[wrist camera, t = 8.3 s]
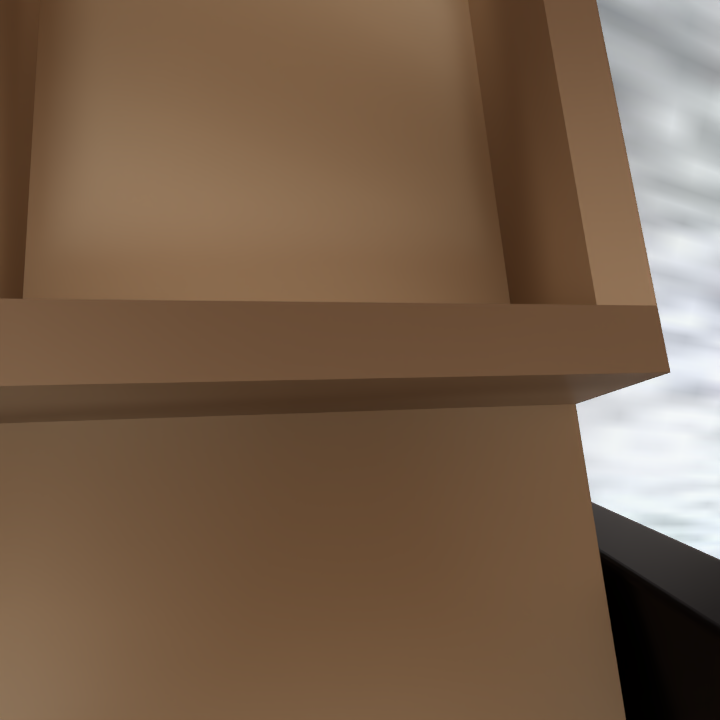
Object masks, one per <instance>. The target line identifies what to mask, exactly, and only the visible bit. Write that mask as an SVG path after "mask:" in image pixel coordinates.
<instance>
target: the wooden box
mask: <svg viewBox="0 0 720 720" xmlns="http://www.w3.org/2000/svg"><path fill="white" fill-rule="evenodd" d="M667 373H670V368H669V363H668V358H667V353H666V348H665V343H664V338H663V333H662V328H661V323H660V318H659V313H658V308H657V303H656V298H655V293H654V288H653V283H652V278H651V273H650V268H649V263H648V258H647V253H646V248H645V243H644V238H643V233H642V228H641V223H640V218H639V213H638V208H637V203H636V198H635V193H634V188H633V183H632V178H631V173H630V168H629V163H628V158H627V153H626V148H625V143H624V138H623V133H622V128H621V123H620V118H619V113H618V108H617V103H616V98H615V93H614V88H613V83H612V78H611V73H610V68H609V63H608V58H607V53H606V48H605V42H604V37H603V32H602V27H601V22H600V17H599V12H598V7H597V2H596V0H0V720H626V717H625V710H624V704H623V698H622V692H621V685H620V679H619V673H618V667H617V660H616V654H615V648H614V642H613V635H612V629H611V623H610V617H609V610H608V604H607V598H606V592H605V585H604V579H603V573H602V566H601V560H600V554H599V548H598V541H597V535H596V529H595V523H594V516H593V510H592V504H591V498H590V491H589V485H588V479H587V473H586V466H585V460H584V454H583V448H582V441H581V435H580V429H579V423H578V416H577V410H576V404H577V403H580V402H583V401H586V400H589V399H592V398H595V397H598V396H601V395H604V394H607V393H610V392H613V391H616V390H619V389H622V388H625V387H628V386H631V385H634V384H637V383H640V382H643V381H646V380H649V379H652V378H655V377H658V376H661V375H664V374H667Z"/></svg>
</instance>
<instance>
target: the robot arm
mask: <svg viewBox="0 0 720 720" xmlns="http://www.w3.org/2000/svg"><path fill="white" fill-rule="evenodd" d="M591 504H592V510H593V516H594V523H595V529H596V535H597V541H598V548H599V554H600V560H601V566H602V573H603V579H604V585H605V592H606V598H607V604H608V610H609V617H610V623H611V629H612V635H613V642H614V648H615V654H616V660H617V667H618V673H619V679H620V685H621V692H622V698H623V704H624V710H625V717H626V720H720V560H719V559H717V558H715V557H713V556H710V555H708V554H706V553H704V552H702V551H699V550H697V549H695V548H693V547H690V546H688V545H686V544H684V543H682V542H679V541H677V540H675V539H673V538H670V537H668V536H666V535H664V534H662V533H659V532H657V531H655V530H653V529H650V528H648V527H646V526H644V525H642V524H639V523H637V522H635V521H633V520H630V519H628V518H626V517H624V516H621V515H619V514H617V513H615V512H613V511H610V510H608V509H606V508H604V507H601V506H599V505H597V504H595V503H593V502H591Z"/></svg>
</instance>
